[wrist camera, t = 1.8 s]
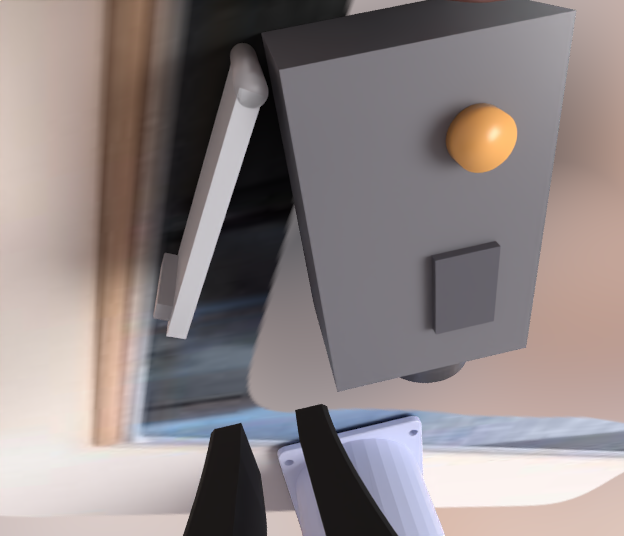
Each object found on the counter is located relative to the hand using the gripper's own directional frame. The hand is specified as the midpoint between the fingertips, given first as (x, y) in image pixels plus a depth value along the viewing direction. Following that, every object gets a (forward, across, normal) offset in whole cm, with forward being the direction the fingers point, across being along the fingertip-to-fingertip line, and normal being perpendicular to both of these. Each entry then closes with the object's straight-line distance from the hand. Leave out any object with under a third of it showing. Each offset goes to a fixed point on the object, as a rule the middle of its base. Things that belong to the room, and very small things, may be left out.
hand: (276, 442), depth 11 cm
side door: (+9, +1, -3) cm, 10 cm away
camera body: (+9, -5, -2) cm, 11 cm away
